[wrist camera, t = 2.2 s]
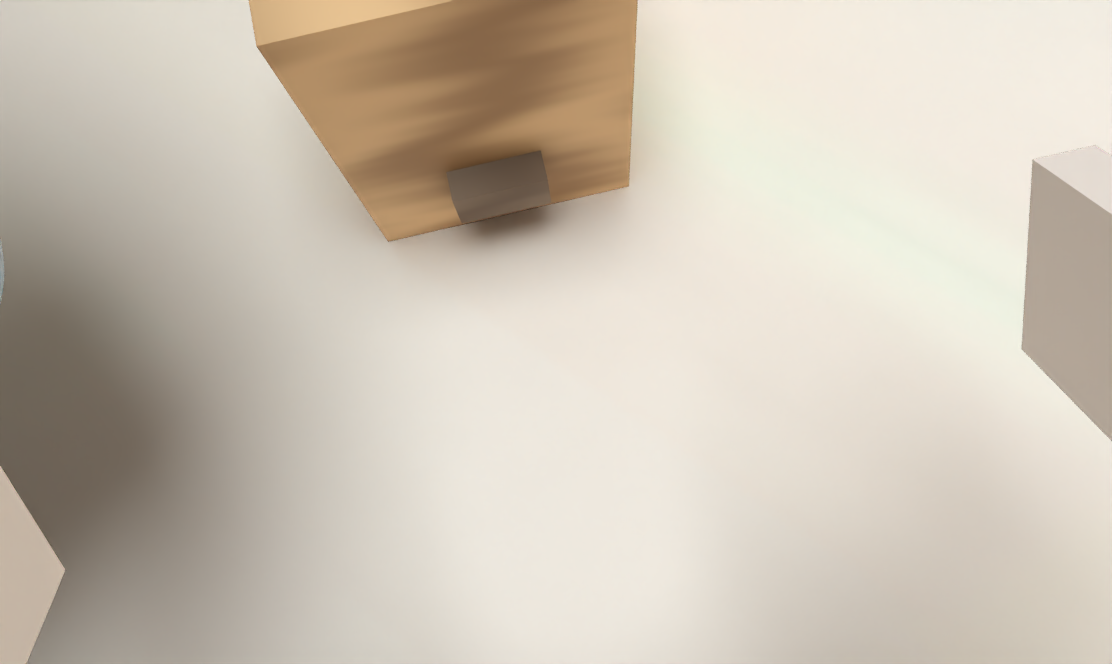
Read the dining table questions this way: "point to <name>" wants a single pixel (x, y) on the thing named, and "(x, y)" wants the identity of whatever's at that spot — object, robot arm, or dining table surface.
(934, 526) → the dining table surface
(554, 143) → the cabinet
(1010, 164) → the dining table surface
